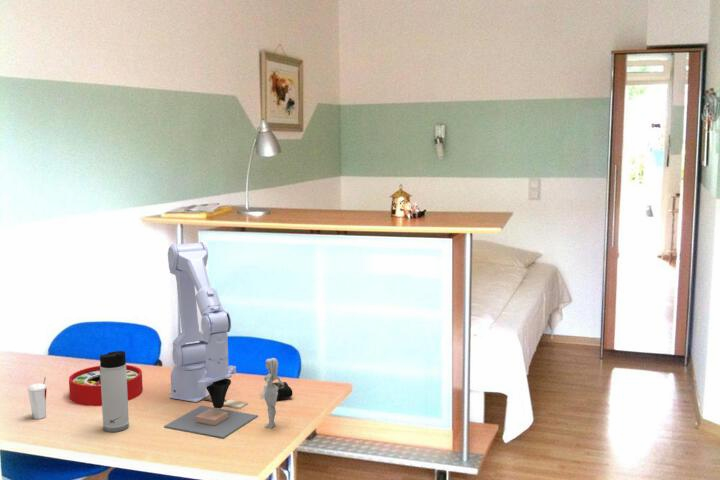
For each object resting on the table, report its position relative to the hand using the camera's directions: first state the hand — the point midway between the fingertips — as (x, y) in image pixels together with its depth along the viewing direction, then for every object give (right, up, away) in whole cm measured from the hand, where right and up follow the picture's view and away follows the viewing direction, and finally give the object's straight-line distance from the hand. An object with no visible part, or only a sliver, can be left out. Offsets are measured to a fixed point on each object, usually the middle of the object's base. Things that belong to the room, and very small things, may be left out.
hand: (218, 407), depth 198 cm
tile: (0, -2, 0) cm, 2 cm away
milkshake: (-48, -3, +2) cm, 48 cm away
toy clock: (-36, -1, +20) cm, 41 cm away
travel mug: (-25, -4, -6) cm, 26 cm away
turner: (-1, -1, +11) cm, 11 cm away
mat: (-1, -3, -2) cm, 4 cm away
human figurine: (+15, -4, -6) cm, 16 cm away
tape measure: (+15, -1, +17) cm, 22 cm away
